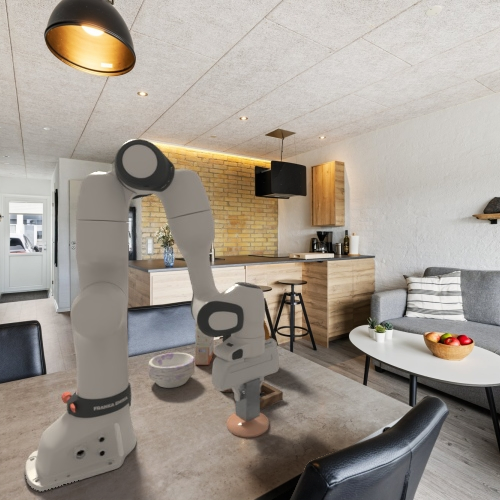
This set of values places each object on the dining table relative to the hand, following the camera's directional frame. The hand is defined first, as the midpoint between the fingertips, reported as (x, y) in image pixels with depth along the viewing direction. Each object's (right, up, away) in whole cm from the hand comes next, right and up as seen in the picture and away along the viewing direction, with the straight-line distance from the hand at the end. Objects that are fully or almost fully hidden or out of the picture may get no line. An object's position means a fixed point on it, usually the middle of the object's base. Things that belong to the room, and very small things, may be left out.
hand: (247, 396), depth 87 cm
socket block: (+4, -7, +14) cm, 16 cm away
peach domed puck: (0, -8, 0) cm, 8 cm away
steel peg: (0, -5, 0) cm, 5 cm away
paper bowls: (-26, -7, +26) cm, 37 cm away
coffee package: (+4, -6, +38) cm, 39 cm away
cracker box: (-17, -6, +47) cm, 50 cm away
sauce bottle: (-6, -7, +21) cm, 23 cm away
